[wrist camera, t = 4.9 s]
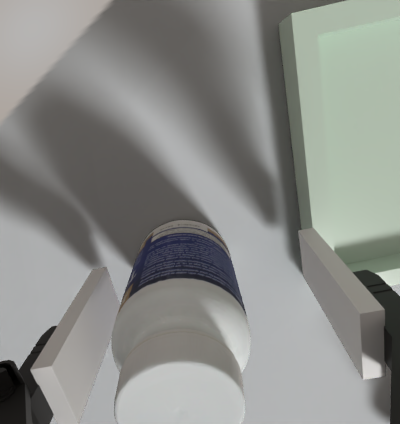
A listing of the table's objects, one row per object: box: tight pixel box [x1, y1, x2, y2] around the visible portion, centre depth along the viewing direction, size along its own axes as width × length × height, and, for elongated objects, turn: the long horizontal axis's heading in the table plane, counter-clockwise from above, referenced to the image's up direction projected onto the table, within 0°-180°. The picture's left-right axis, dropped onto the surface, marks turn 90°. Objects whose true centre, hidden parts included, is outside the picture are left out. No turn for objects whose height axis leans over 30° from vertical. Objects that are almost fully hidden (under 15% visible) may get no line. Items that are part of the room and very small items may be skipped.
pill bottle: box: [112, 220, 251, 424], centre depth 14 cm, size 5×5×10 cm
